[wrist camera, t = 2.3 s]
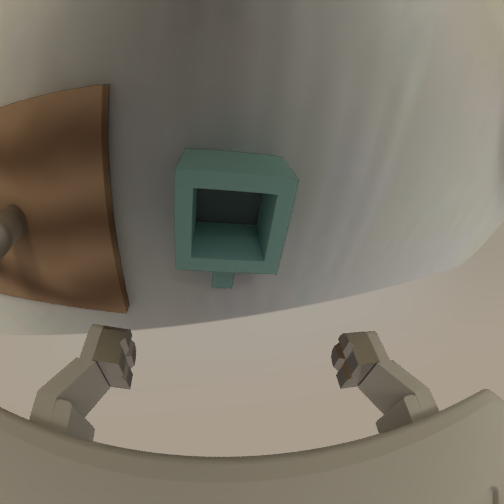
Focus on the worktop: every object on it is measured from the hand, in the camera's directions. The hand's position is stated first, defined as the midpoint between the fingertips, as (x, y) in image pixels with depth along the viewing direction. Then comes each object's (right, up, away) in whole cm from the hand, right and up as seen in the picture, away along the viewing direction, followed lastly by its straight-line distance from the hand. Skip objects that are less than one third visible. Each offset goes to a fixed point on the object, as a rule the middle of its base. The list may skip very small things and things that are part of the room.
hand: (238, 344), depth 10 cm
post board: (-20, +7, +8) cm, 23 cm away
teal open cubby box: (-1, +6, +11) cm, 12 cm away
